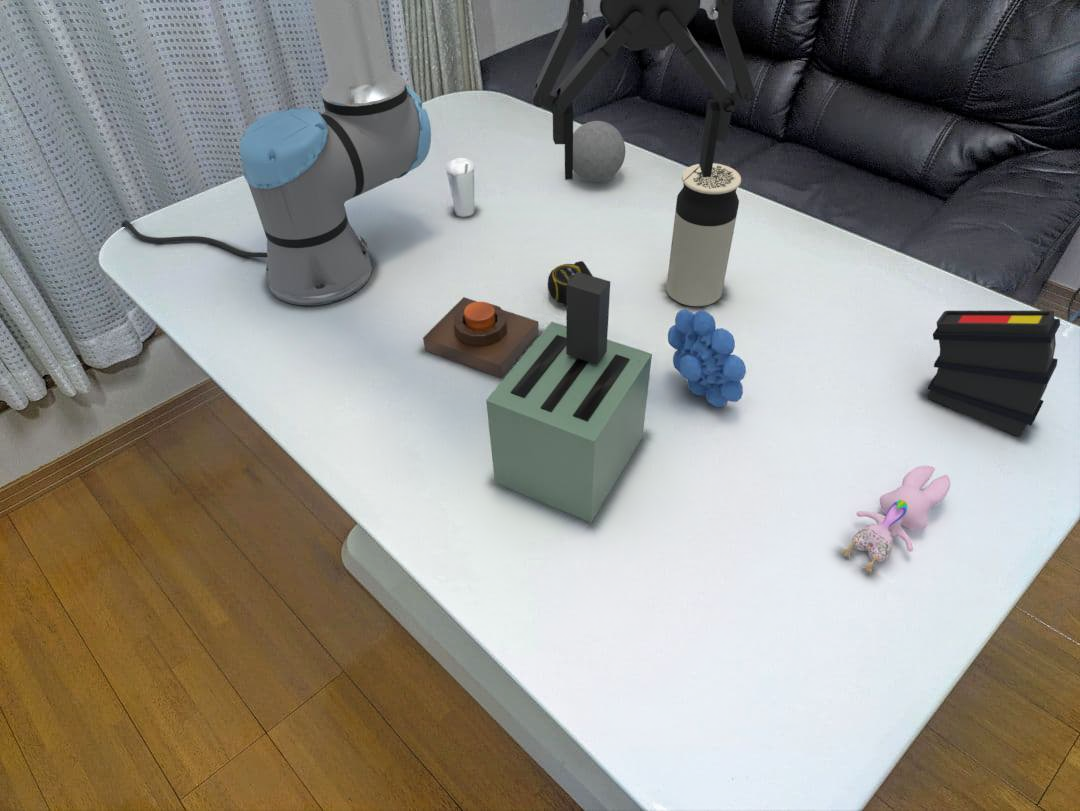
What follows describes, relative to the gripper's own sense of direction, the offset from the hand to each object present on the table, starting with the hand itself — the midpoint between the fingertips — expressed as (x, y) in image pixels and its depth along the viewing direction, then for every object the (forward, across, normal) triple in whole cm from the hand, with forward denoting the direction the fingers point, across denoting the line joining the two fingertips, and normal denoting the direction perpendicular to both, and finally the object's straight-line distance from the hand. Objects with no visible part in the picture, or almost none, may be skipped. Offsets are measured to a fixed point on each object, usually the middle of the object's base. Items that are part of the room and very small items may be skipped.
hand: (636, 172), depth 73 cm
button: (+25, -18, +8) cm, 32 cm away
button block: (+28, -18, +8) cm, 35 cm away
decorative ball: (+29, -1, +52) cm, 59 cm away
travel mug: (+29, +12, +18) cm, 36 cm away
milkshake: (+29, -23, +41) cm, 55 cm away
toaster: (+28, -7, -13) cm, 32 cm away
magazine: (+29, +41, -6) cm, 50 cm away
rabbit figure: (+29, +27, -23) cm, 45 cm away
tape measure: (+29, -5, +18) cm, 34 cm away
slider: (+15, -5, -10) cm, 19 cm away
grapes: (+29, +9, -4) cm, 30 cm away
